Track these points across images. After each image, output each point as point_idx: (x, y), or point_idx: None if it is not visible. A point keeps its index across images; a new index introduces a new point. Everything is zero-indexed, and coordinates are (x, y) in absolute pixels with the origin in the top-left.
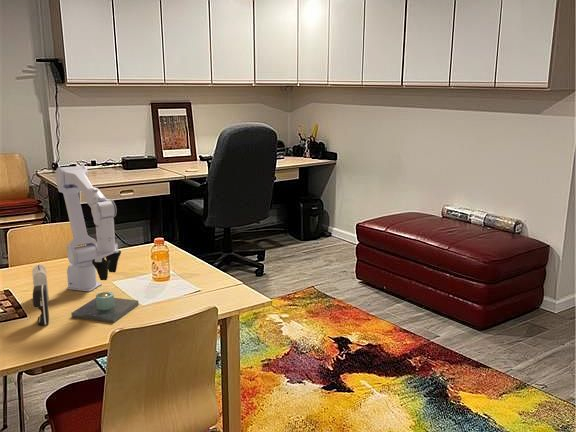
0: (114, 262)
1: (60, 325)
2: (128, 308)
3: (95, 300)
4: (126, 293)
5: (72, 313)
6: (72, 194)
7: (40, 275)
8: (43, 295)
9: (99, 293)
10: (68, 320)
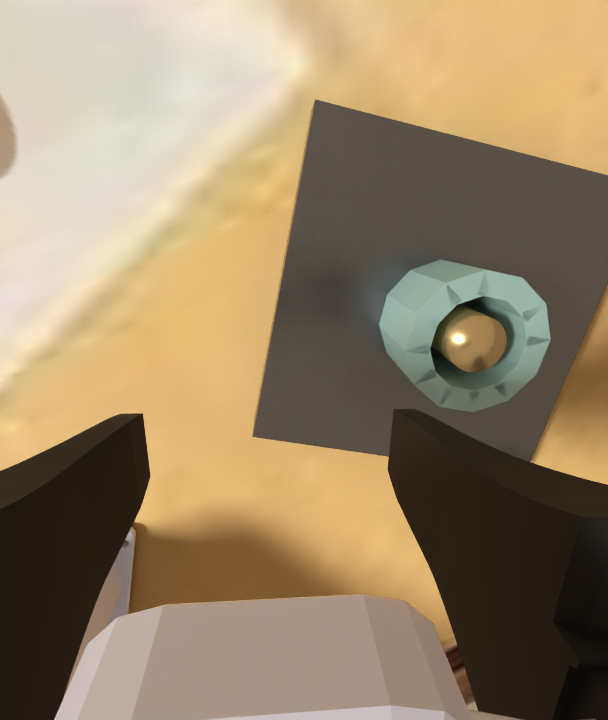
0: (77, 498)
1: (602, 467)
2: (461, 138)
3: (332, 425)
4: (101, 290)
5: None
6: None
7: None
8: None
9: (439, 401)
10: (545, 458)
